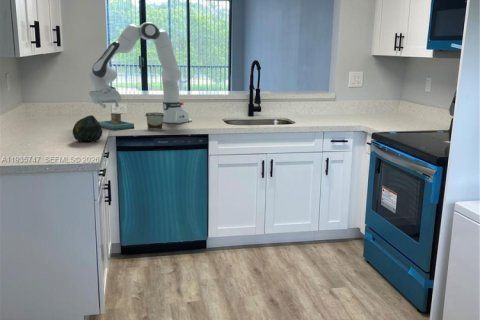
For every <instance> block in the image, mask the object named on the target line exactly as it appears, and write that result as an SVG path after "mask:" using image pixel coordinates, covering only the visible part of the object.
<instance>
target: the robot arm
mask: <svg viewBox="0 0 480 320" xmlns="http://www.w3.org/2000/svg"><path fill="white" fill-rule="evenodd" d="M139 39H140V40H141V39H142V40H146V41H148V40H152V41H153V42H154V45H155V49H156V53H157V57H158V61H159V63H160V65H161V67H162V71H161V81H162V82H161V83H162V89H163V90H162V91H163V92H162V93H163V101H162V113H163V114H164V116H163V123H169V124H171V123H174V124H182V123H188V121H189V122H192V121H193V119H192V118H190V117H189V112H188V111H187V110H185V109H184V108H183V107H182V106H184V105H185V103H184V102H183V101H182V102H180V89H179V82H178V81H180V79H181V77H182V74H181V73H182V72H181V70H180V66H179V64H178V61H177V59H176V56H175V53H174V49H173V45H172V42H171V39H170V36H169V34H168V31H167V30H163V29H159V28H158V27H157V26H156V24H154V23H153V22H150V21H149V22H148V21H147V22H143V23H142V24H140V25H138V26H137V25H135V24H128V25H127V26H125V28H124V29H123V30H122V32H121V33H120V35H119V36H118V37H117V39H116V40H115V41H113V42H112V43H110V45H109V46H108V47H107V49H105V51H104V52H103V54H101V56H100V58H99V59H98V60H97V61H95V62H94V63H93V65H92V67H91V69H92V70H90V72H89V73H88V78H89V81H90V84H91V85H92V87H93V90H92V91H90V92H89V96H90V99H91V102H92V103H93V104H94V105H96V104H99V106H101V107H102V109H105V108H106V107H107V106H106V104H112V103H114V104H115V105H114V106H115V108H118V107H119V103H120V102H122V100H123V98H122V96H121V93H120V92H119V91H118V90H117V87H116V86H113V85H109V84H111V83H113V82H114V81H116V79H117V75H118V73H117V71H116V69H114V68H113V67H112V66H109V63H110V62H111V60H112V59H113V58H114V57H115V55H116V54H128V53H130V52H131V51H132V50H133V49H134V47H135V46H136V44H137V41H138V40H139Z"/></svg>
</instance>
